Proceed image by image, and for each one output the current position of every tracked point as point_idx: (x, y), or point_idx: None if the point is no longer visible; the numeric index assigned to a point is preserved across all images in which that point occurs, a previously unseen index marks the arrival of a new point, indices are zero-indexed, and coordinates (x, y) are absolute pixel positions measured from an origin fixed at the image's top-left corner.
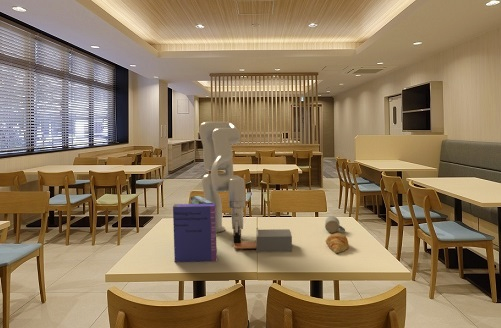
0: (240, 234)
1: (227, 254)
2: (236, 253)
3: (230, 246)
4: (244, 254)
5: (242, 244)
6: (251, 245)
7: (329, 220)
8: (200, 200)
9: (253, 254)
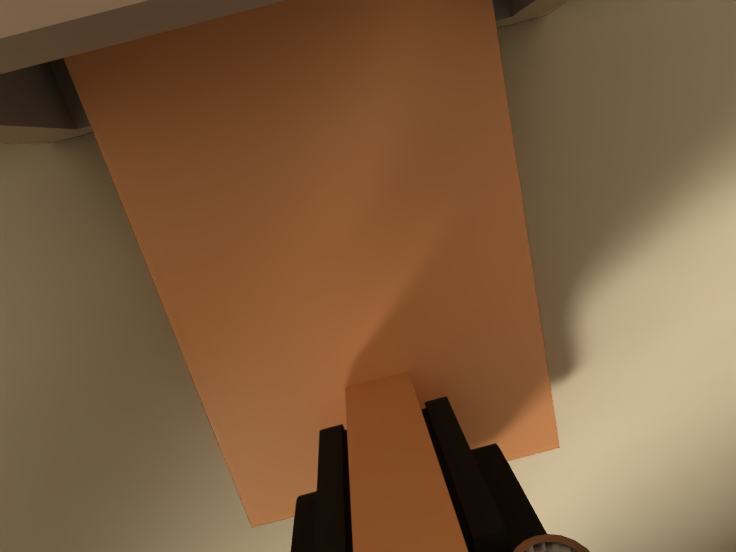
0: (467, 549)
1: (702, 438)
2: (655, 336)
3: None
4: (697, 202)
5: (389, 354)
6: (413, 162)
7: None
8: None
9: (693, 42)
